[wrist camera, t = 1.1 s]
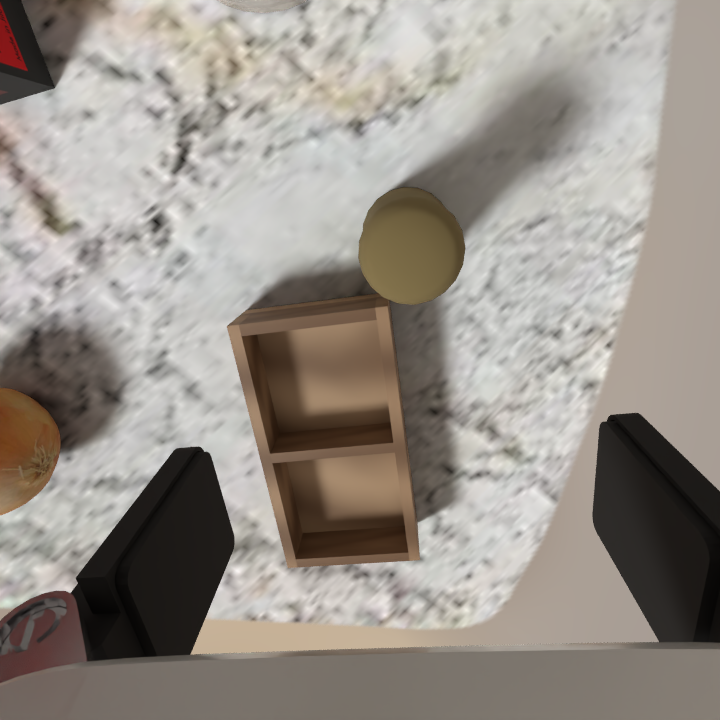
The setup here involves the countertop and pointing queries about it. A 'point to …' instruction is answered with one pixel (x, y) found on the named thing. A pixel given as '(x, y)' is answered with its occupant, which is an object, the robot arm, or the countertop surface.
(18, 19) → the cleaning product box
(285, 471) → the wooden divided tray
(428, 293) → the cork
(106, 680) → the robot arm
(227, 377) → the countertop surface
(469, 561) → the countertop surface
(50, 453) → the onion
